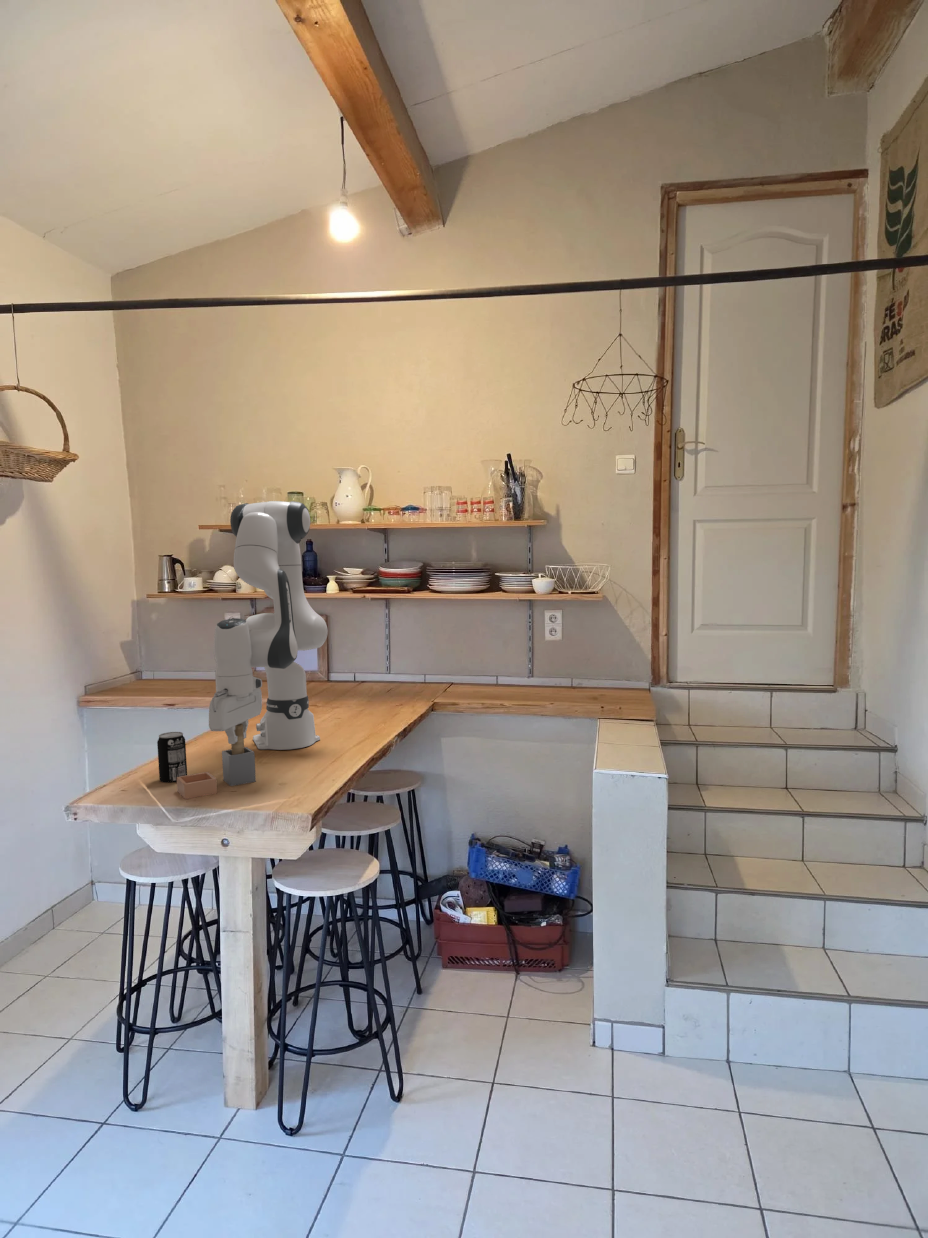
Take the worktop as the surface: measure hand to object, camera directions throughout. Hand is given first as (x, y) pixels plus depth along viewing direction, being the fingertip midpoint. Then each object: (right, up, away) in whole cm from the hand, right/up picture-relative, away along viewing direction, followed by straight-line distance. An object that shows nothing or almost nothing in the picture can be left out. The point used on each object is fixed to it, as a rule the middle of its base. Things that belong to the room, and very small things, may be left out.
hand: (237, 741), depth 194 cm
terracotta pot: (-7, -12, -7) cm, 16 cm away
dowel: (0, -10, +1) cm, 10 cm away
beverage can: (-17, -11, +4) cm, 21 cm away
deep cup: (0, -11, +1) cm, 11 cm away
